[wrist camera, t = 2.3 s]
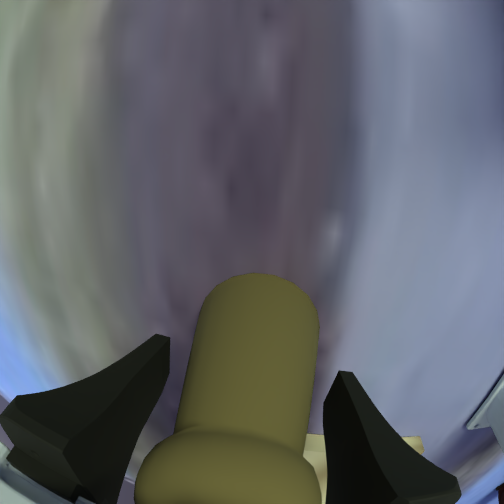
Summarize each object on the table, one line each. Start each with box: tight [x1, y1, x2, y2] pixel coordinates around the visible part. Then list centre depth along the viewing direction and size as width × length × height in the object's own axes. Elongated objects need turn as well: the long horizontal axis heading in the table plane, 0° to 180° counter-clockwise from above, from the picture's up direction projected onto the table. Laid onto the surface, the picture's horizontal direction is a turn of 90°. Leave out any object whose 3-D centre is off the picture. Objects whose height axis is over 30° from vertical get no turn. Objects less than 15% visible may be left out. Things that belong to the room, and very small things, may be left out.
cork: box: [134, 273, 322, 504], centre depth 10 cm, size 6×6×11 cm
